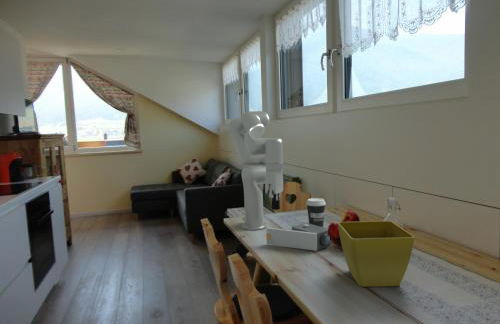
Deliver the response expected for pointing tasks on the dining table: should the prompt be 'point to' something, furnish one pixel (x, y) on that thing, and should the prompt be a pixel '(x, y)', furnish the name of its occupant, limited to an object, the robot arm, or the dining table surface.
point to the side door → (292, 238)
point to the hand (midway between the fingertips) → (275, 209)
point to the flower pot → (376, 251)
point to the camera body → (322, 234)
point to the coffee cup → (316, 211)
